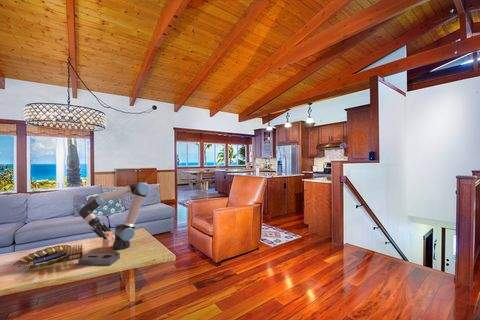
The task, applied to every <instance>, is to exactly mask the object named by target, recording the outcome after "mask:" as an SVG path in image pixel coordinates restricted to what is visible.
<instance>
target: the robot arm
mask: <svg viewBox="0 0 480 320" xmlns="http://www.w3.org/2000/svg"><path fill="white" fill-rule="evenodd" d="M150 192H151V186H150V184H148V183H147V182H143V181H142V182H141V181H137V182H134V183H131V184H128V185H127V186H125V187H122V188H118V189H115V190H113V191H112V190H111V191H108V192H106V193H103V194H99V195H96V196H91V197H89V198H87V204H84V203H82V204H80V205H78V206H77V207H76V208H75V211H76V213H77V215H79V216H80V217H81V218H82V220H84V221H85V222H86V223H87V224H88V225H89V227H91V228H90V230H91V231H93V232H94V233H95V234H96V236H97V237H98V238H101V239H103V238H104V239H105V240H106V241H107V242H108V243H109V242H110V241H111V240H110V239H109V238H108V237H107V236H106V235H104V232H107V231H109V232H112V229H111V228H109V227H108V226H107V225H106V223H105V222H100V219H99V218H98V217H97V216H96V214H95V213H93V212H94V211H95V210H97V209H98V208H100V207H101V206H103V205H104V204H105V203H107V202H109V201H110V202H111V200H116V199H119V198H122V197H125V196H127V195H132V196H133V198H132V201H131V204H130V207H129V210H128V213H127V216H126V218H125V221H123V222H118V223H116V224H114V235H113V234H112V245H111V246H112V250H113V251H115V250H116V251H119V250H120V251H121V250H126V249H128V248H130V247H131V242H130V240H132V239H133V238H134V237H135V234H136V231H135V228H136V227H137V226H136V224H135V223H136V221H137V218H138V215H139V213H140V210H141V207H142V204H143V201H144V199H146V198H147V195H148V194H150ZM125 248H126V249H125Z"/></svg>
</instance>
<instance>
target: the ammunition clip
mask: <svg viewBox="0 0 480 320" xmlns="http://www.w3.org/2000/svg"><path fill="white" fill-rule="evenodd" d="M82 257H83V244H82V243H80V244H78V245H77V244H75V245H74V244H73V246H72V245H70V246H69V245H67V250H66V262H70V261H74V260H79V259H81V258H82Z"/></svg>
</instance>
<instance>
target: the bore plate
mask: <svg viewBox="0 0 480 320" xmlns="http://www.w3.org/2000/svg"><path fill="white" fill-rule="evenodd" d="M119 259H121V254H120V253H109V252H108V253H100V252H99V253H96V252H95V253H93V252H91V253H87V254H86V255H85V256H82V258H80V259H77V265H78V266H112V265H113V264H114V263H116V262H117V261H118V260H119Z"/></svg>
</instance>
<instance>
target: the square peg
mask: <svg viewBox="0 0 480 320" xmlns="http://www.w3.org/2000/svg"><path fill="white" fill-rule="evenodd" d="M103 233H104V235H106V236H107V237H108V238H109V239H110V240H111V241H110V242H109V243H108V242H107V241H106V240H105V239H104V238H103V237H102V244H101V245H102V246H101V247H102V248H110V247H111V246H113V241H112V235H113V231H111V232H109V231H107V232H104V231H103Z"/></svg>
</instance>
